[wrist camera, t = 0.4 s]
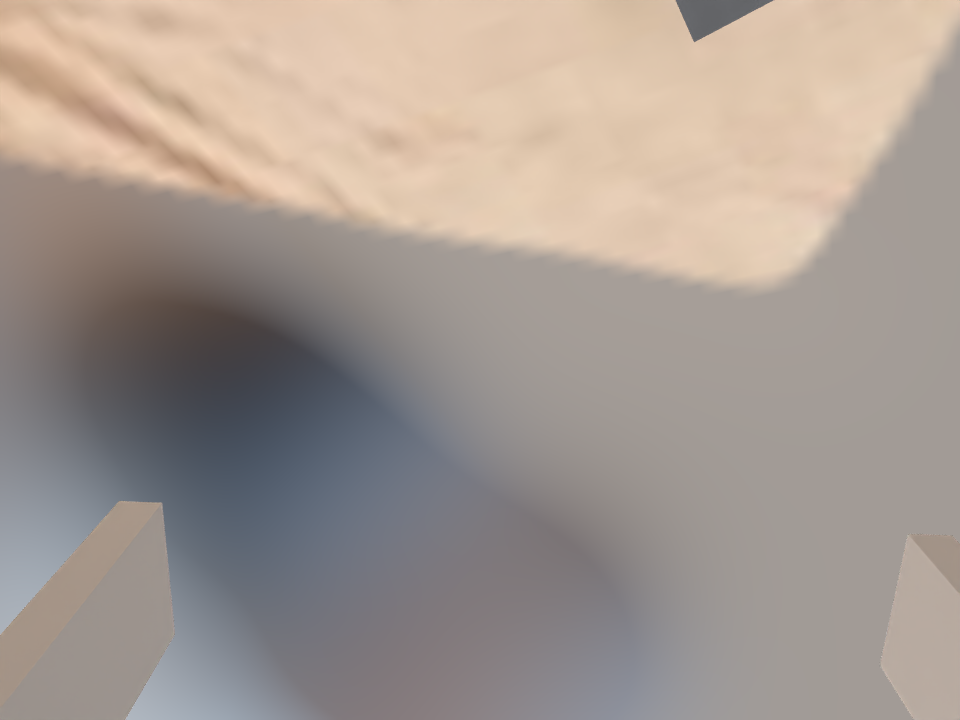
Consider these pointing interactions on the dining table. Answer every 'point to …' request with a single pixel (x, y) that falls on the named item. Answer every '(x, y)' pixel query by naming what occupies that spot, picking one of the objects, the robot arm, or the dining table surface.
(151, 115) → the dining table surface
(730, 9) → the block
